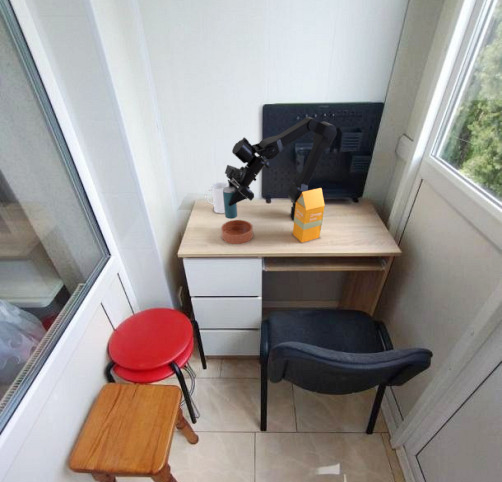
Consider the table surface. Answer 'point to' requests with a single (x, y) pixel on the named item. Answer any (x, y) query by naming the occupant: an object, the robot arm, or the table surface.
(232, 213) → the can
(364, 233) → the table surface
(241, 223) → the pot
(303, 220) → the orange juice
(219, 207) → the mug
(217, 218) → the table surface
